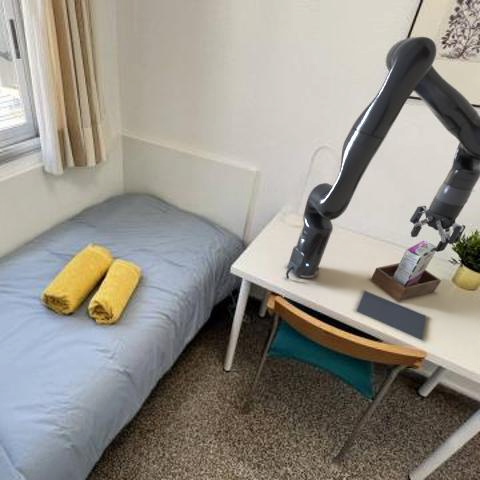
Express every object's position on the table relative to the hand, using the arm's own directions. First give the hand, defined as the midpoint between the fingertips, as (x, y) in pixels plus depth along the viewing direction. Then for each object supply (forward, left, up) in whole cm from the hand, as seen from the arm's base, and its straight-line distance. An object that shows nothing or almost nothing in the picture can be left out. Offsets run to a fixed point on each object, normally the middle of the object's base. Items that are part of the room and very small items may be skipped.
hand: (425, 243), depth 112 cm
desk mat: (-16, -10, -18) cm, 26 cm away
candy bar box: (0, 0, -18) cm, 18 cm away
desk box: (0, 0, -18) cm, 18 cm away
